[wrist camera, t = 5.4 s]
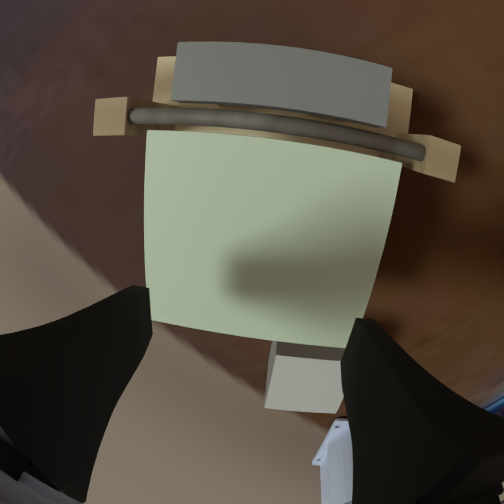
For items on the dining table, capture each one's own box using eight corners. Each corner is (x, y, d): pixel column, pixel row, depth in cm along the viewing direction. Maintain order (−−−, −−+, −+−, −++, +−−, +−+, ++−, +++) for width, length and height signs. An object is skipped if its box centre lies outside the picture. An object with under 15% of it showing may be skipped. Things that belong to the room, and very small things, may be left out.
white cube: (329, 366, 23) (335, 413, 18) (268, 360, 23) (264, 407, 19) (346, 316, 21) (358, 362, 17) (278, 308, 21) (276, 354, 17)
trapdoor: (348, 335, 15) (352, 352, 14) (156, 307, 15) (146, 322, 14) (402, 80, 10) (415, 75, 9) (166, 51, 11) (154, 43, 9)
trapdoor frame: (397, 166, 17) (453, 187, 10) (154, 134, 18) (92, 140, 11) (407, 90, 15) (467, 75, 8) (162, 59, 16) (105, 31, 9)
